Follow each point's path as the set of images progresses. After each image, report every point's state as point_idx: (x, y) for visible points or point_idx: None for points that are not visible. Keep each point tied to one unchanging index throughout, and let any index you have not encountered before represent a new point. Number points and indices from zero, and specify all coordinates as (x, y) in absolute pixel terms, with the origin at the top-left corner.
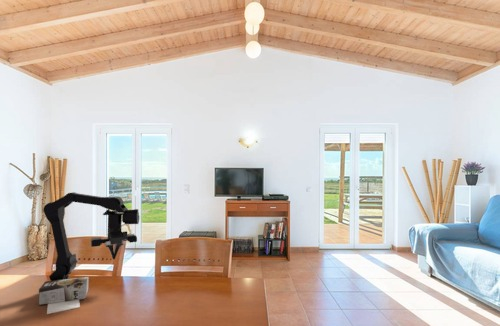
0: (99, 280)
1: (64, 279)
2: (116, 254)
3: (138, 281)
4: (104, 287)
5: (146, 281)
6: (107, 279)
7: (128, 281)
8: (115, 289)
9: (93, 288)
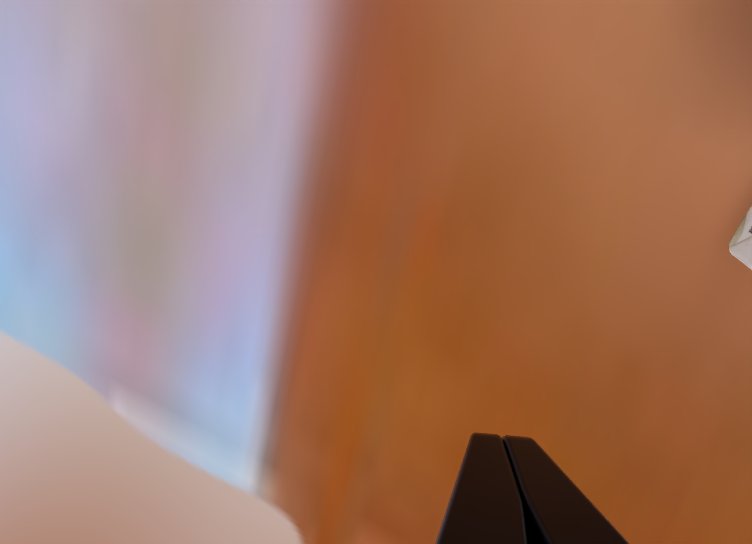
0: None
1: None
2: (442, 538)
3: (112, 231)
4: (517, 272)
5: (11, 169)
6: (420, 480)
7: (227, 301)
8: (425, 120)
9: (627, 313)
